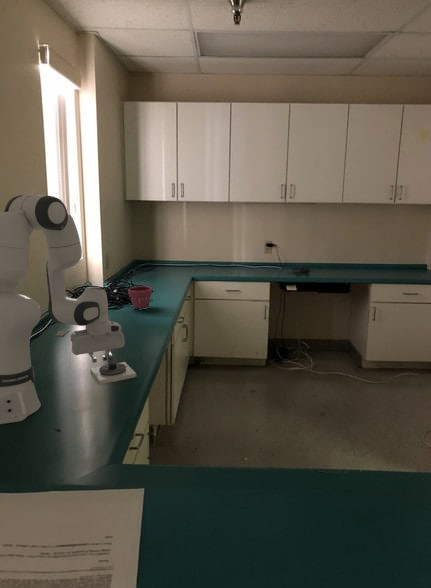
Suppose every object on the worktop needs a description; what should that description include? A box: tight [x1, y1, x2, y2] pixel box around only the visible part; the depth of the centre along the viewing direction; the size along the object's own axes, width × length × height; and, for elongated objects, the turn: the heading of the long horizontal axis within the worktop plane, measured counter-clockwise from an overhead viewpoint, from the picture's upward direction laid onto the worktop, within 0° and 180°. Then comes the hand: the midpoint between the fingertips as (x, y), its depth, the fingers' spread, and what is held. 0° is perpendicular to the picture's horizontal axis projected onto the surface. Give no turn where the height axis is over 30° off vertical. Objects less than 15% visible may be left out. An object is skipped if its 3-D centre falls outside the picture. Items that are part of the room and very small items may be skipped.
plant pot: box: [127, 285, 153, 309], centre depth 273 cm, size 14×14×13 cm
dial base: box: [90, 361, 137, 385], centre depth 173 cm, size 14×14×2 cm
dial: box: [99, 351, 126, 375], centre depth 173 cm, size 12×10×5 cm
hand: (99, 361), depth 176 cm, fingers open, 3 cm apart
